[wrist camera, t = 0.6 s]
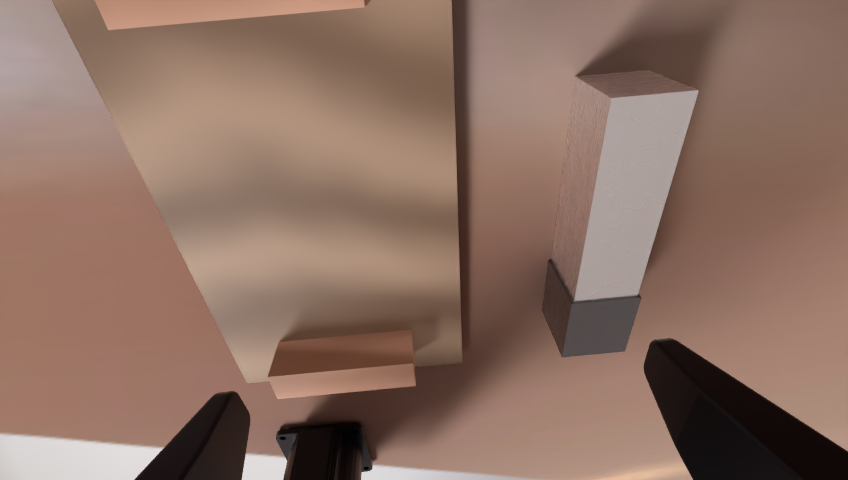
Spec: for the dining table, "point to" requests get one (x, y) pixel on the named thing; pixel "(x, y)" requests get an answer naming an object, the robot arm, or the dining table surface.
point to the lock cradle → (297, 173)
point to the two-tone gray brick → (611, 204)
